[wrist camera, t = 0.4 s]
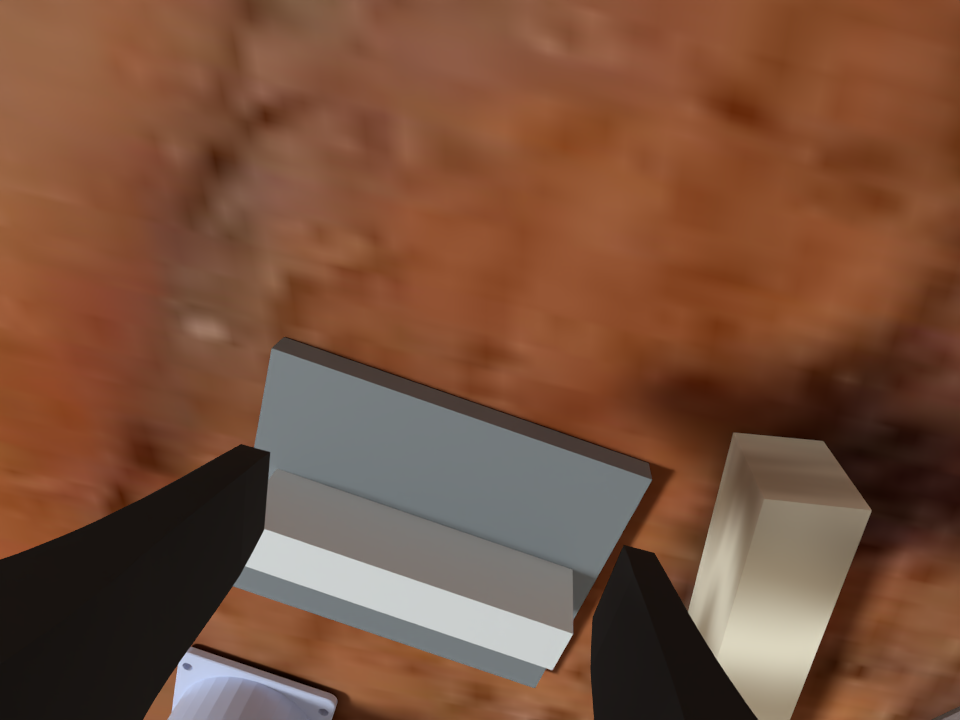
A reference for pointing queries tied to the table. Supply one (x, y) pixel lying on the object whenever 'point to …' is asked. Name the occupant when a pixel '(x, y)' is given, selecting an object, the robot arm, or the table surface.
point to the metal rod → (950, 715)
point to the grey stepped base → (431, 514)
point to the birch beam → (775, 564)
